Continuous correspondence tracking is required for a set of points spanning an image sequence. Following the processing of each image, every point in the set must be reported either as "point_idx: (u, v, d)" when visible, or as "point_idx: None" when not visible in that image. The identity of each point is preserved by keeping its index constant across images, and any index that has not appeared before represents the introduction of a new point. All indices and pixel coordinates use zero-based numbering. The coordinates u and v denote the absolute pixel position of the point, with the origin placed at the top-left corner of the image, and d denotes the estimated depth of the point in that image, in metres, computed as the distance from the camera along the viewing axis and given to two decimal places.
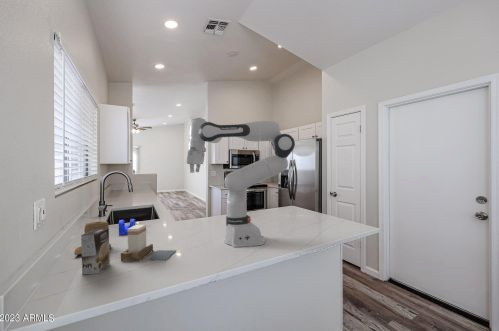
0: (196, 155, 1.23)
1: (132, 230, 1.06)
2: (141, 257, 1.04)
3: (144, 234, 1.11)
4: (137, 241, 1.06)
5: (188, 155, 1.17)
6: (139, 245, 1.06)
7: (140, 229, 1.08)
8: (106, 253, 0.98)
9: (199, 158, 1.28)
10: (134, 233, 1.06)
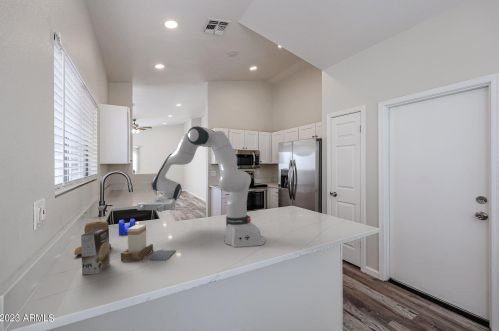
0: (150, 202, 1.31)
1: (132, 230, 1.06)
2: (141, 257, 1.04)
3: (144, 234, 1.11)
4: (137, 241, 1.06)
5: None
6: (139, 245, 1.06)
7: (140, 229, 1.08)
8: (106, 253, 0.98)
9: None
10: (134, 233, 1.06)
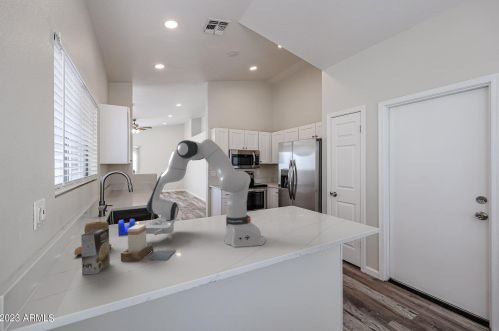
0: (148, 225, 1.28)
1: (132, 230, 1.06)
2: (141, 257, 1.04)
3: (144, 234, 1.11)
4: (137, 241, 1.06)
5: None
6: (139, 245, 1.06)
7: (140, 229, 1.08)
8: (106, 253, 0.98)
9: (156, 225, 1.26)
10: (134, 233, 1.06)
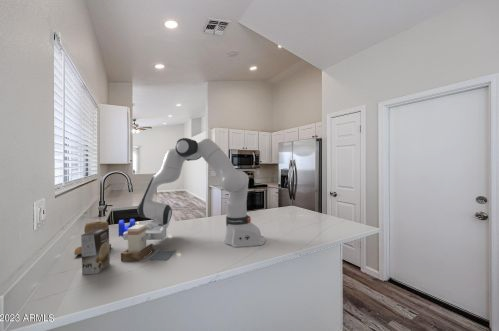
0: None
1: (132, 230, 1.06)
2: (141, 257, 1.04)
3: (144, 234, 1.11)
4: (137, 241, 1.06)
5: None
6: (139, 245, 1.06)
7: (140, 229, 1.08)
8: (106, 253, 0.98)
9: (147, 230, 1.16)
10: (134, 233, 1.06)
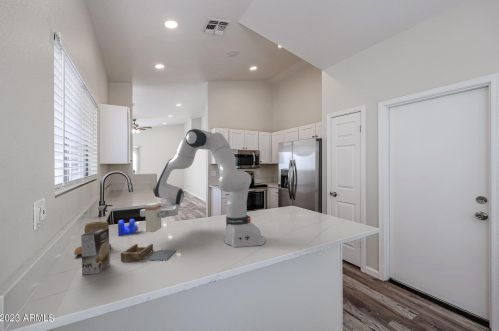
0: None
1: (149, 206, 1.18)
2: (141, 257, 1.04)
3: (159, 211, 1.24)
4: (154, 216, 1.18)
5: None
6: (155, 220, 1.19)
7: (156, 205, 1.20)
8: (106, 253, 0.98)
9: None
10: (151, 209, 1.18)
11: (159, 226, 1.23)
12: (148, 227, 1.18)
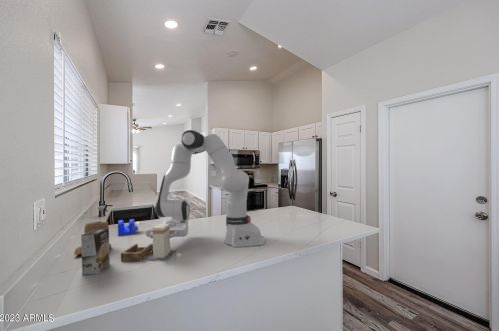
0: None
1: (157, 229, 1.05)
2: (141, 257, 1.04)
3: (168, 233, 1.10)
4: (162, 240, 1.05)
5: None
6: (164, 245, 1.05)
7: (165, 228, 1.07)
8: (106, 253, 0.98)
9: None
10: (159, 232, 1.05)
11: (168, 250, 1.10)
12: (155, 253, 1.05)
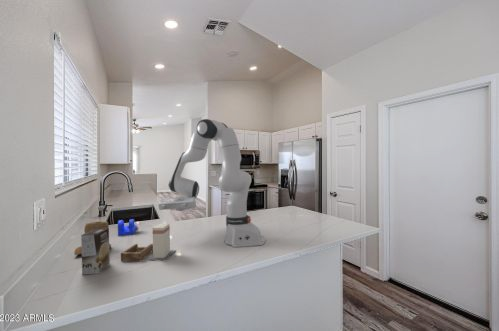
0: (171, 202, 1.30)
1: (157, 229, 1.05)
2: (141, 257, 1.04)
3: (168, 233, 1.10)
4: (162, 240, 1.05)
5: None
6: (164, 245, 1.05)
7: (165, 228, 1.07)
8: (106, 253, 0.98)
9: (179, 201, 1.28)
10: (159, 232, 1.05)
11: (168, 250, 1.10)
12: (155, 253, 1.05)
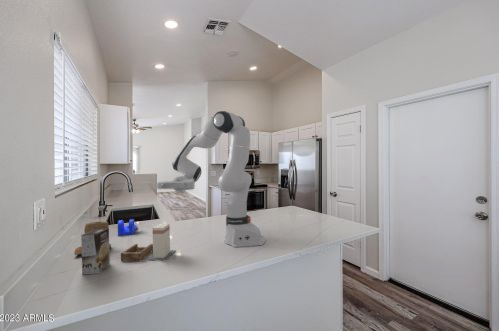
0: (170, 182, 1.30)
1: (157, 229, 1.05)
2: (141, 257, 1.04)
3: (168, 233, 1.10)
4: (162, 240, 1.05)
5: None
6: (164, 245, 1.05)
7: (165, 228, 1.07)
8: (106, 253, 0.98)
9: None
10: (159, 232, 1.05)
11: (168, 250, 1.10)
12: (155, 253, 1.05)
